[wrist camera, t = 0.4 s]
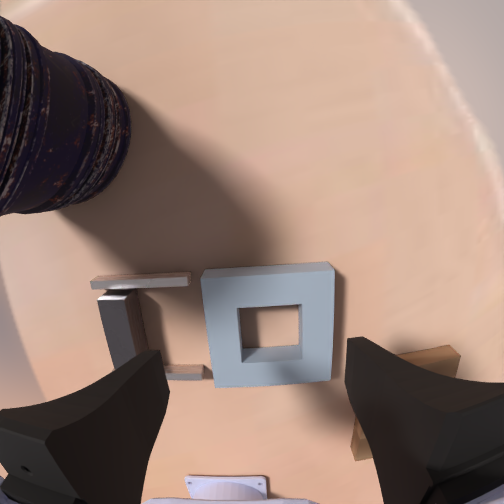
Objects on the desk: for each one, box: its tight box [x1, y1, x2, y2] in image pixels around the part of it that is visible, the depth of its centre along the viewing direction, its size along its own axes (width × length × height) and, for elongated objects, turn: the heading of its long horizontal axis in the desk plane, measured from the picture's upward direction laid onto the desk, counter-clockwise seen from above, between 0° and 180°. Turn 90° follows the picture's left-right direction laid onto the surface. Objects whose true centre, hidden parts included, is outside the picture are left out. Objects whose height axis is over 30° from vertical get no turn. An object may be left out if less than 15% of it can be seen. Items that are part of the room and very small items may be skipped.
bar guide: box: [90, 272, 204, 380], centre depth 22 cm, size 8×7×1 cm
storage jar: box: [0, 16, 131, 216], centre depth 12 cm, size 10×10×15 cm
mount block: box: [351, 345, 461, 461], centre depth 23 cm, size 10×8×2 cm
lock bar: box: [97, 288, 149, 370], centre depth 21 cm, size 6×2×2 cm, turn 4°
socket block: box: [200, 262, 335, 388], centre depth 21 cm, size 8×8×2 cm
